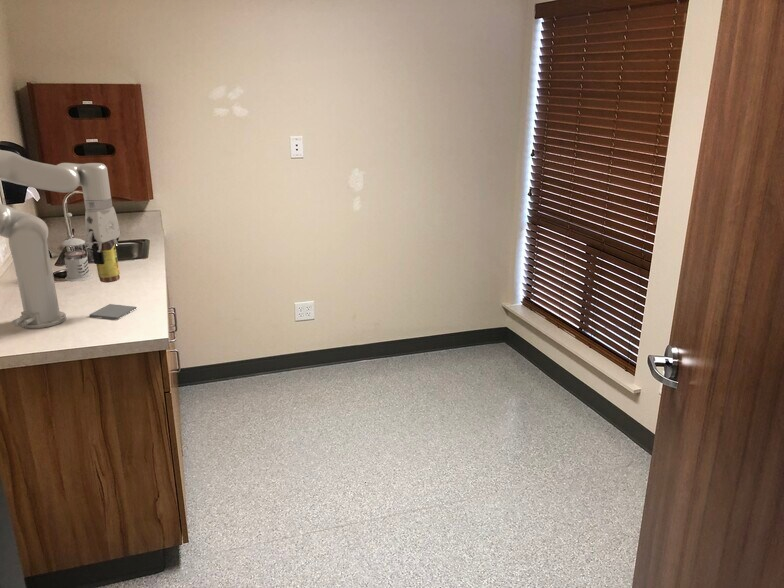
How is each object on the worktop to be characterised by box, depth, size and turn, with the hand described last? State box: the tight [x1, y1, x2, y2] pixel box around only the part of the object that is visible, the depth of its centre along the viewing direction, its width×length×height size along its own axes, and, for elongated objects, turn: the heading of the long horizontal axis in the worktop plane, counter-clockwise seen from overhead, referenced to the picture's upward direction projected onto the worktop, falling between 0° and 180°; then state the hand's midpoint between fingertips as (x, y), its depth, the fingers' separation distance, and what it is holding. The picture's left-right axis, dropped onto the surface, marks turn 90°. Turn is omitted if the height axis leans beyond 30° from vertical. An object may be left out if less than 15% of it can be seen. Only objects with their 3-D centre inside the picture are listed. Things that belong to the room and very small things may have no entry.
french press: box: [61, 212, 94, 282], centre depth 224 cm, size 10×12×25 cm
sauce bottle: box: [95, 240, 121, 283], centre depth 187 cm, size 7×6×20 cm
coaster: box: [89, 303, 138, 320], centre depth 194 cm, size 10×10×1 cm
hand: (106, 260), depth 188 cm, fingers closed on sauce bottle, 6 cm apart
